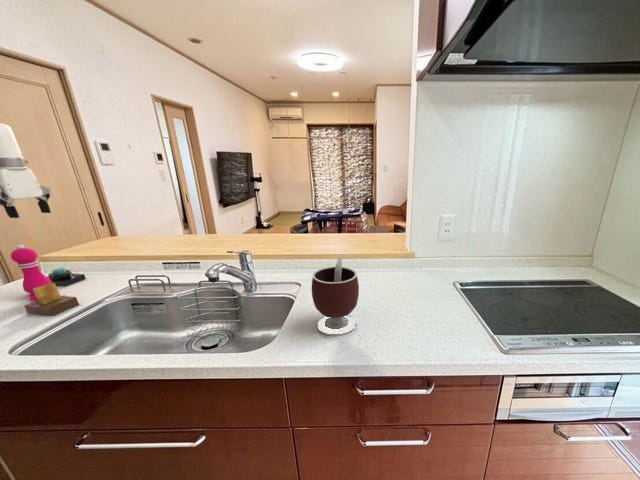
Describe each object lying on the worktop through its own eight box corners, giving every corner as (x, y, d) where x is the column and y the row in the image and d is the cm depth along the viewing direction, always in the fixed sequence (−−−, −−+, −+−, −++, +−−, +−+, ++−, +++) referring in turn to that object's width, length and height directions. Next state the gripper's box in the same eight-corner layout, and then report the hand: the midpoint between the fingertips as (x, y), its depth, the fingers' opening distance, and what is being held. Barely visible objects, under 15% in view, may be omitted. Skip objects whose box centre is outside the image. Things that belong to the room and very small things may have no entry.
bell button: (51, 275, 118) (49, 270, 117) (61, 271, 121) (59, 267, 121) (58, 275, 118) (57, 271, 117) (68, 272, 121) (67, 268, 120)
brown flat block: (25, 314, 96) (21, 305, 95) (56, 301, 105) (53, 293, 103) (51, 317, 95) (47, 308, 94) (81, 303, 103) (77, 295, 102)
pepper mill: (24, 299, 106) (-2, 245, 98) (50, 291, 112) (27, 240, 105) (35, 302, 104) (9, 248, 96) (61, 294, 110) (38, 242, 102)
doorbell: (39, 284, 118) (35, 275, 116) (61, 277, 125) (58, 268, 124) (65, 286, 116) (61, 277, 115) (86, 279, 124) (82, 270, 122)
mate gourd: (354, 339, 85) (354, 275, 77) (308, 335, 86) (303, 272, 79) (362, 313, 99) (362, 256, 92) (322, 310, 101) (319, 254, 93)
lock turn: (44, 304, 96) (36, 288, 94) (39, 304, 96) (32, 288, 94) (61, 297, 101) (54, 282, 99) (56, 297, 101) (50, 282, 99)
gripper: (29, 163, 107) (48, 210, 114) (-36, 164, 91) (-10, 219, 98) (48, 163, 107) (66, 211, 113) (-15, 164, 91) (10, 220, 97)
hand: (31, 215), depth 106 cm, fingers open, 9 cm apart
